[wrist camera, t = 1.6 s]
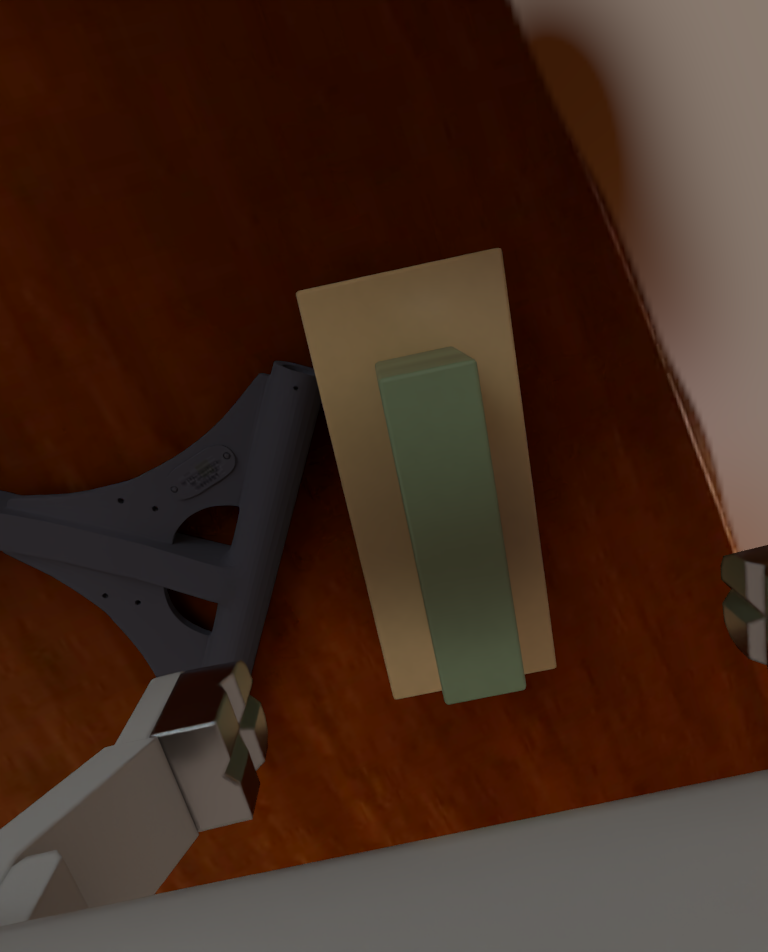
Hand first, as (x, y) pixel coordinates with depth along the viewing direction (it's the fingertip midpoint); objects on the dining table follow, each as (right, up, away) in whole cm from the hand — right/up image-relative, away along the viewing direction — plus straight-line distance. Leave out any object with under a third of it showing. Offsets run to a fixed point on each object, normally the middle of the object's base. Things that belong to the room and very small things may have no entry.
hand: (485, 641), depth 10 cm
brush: (0, +3, +9) cm, 10 cm away
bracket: (-12, +1, +9) cm, 16 cm away
